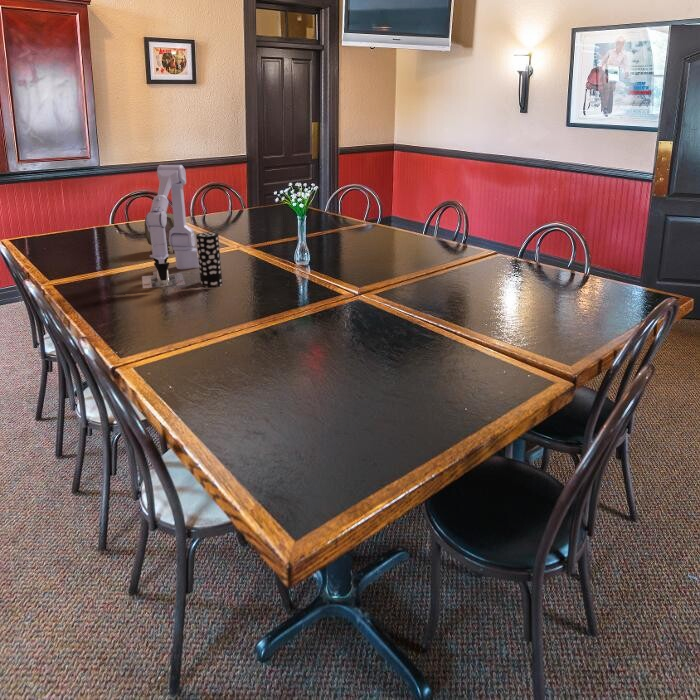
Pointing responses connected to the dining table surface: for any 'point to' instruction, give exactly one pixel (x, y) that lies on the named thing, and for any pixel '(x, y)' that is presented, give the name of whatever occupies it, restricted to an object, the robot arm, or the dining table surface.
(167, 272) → the knob
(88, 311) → the dining table surface
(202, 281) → the white-spotted black cylinder
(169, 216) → the tabletop clock
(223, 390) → the dining table surface
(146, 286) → the hub plate
